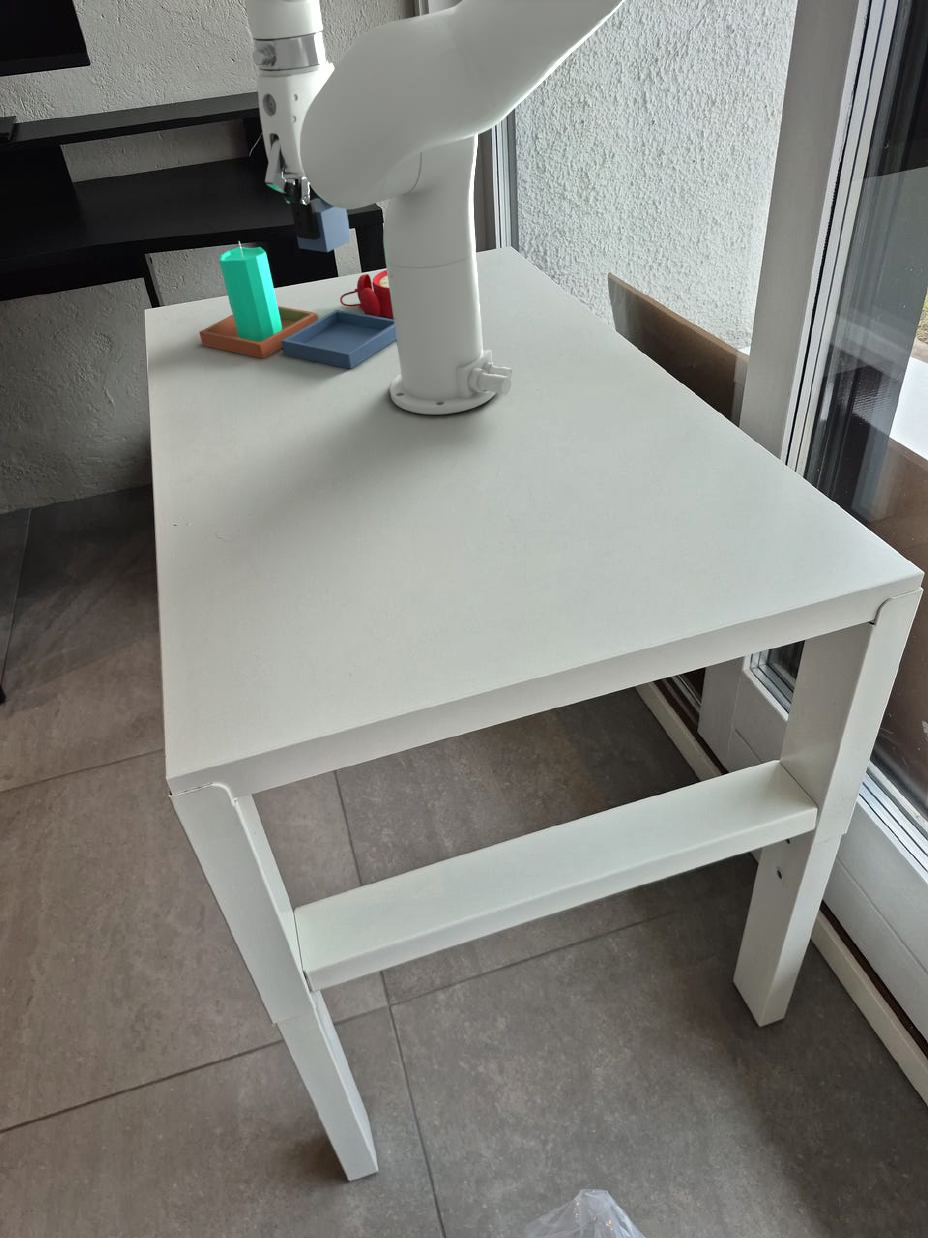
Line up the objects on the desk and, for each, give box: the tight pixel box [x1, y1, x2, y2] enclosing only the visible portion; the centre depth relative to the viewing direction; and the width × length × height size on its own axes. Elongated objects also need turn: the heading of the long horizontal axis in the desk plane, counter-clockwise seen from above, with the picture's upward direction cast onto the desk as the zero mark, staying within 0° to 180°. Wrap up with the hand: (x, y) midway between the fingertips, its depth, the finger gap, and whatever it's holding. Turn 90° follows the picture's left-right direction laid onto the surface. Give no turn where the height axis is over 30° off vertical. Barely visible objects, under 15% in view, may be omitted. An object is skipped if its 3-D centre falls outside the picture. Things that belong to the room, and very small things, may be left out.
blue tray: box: [281, 309, 397, 370], centre depth 117 cm, size 11×11×2 cm
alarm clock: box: [339, 269, 394, 319], centre depth 124 cm, size 10×6×15 cm
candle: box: [218, 240, 282, 342], centre depth 118 cm, size 6×6×12 cm
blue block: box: [296, 197, 352, 253], centre depth 108 cm, size 4×4×4 cm
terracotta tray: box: [198, 305, 319, 359], centre depth 122 cm, size 11×11×2 cm
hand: (322, 229), depth 108 cm, fingers closed on blue block, 4 cm apart
